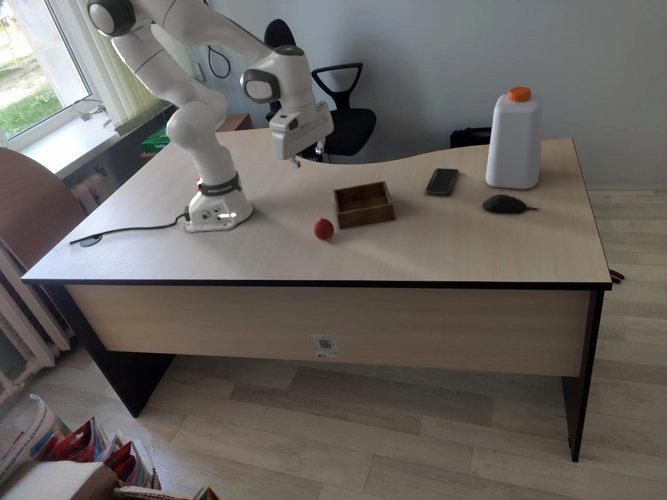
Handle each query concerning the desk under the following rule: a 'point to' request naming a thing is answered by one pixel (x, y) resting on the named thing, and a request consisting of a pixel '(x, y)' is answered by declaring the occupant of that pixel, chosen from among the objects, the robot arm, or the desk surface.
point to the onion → (323, 229)
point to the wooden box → (363, 205)
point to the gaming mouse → (505, 204)
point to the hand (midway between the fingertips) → (308, 160)
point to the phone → (442, 182)
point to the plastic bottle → (515, 140)
